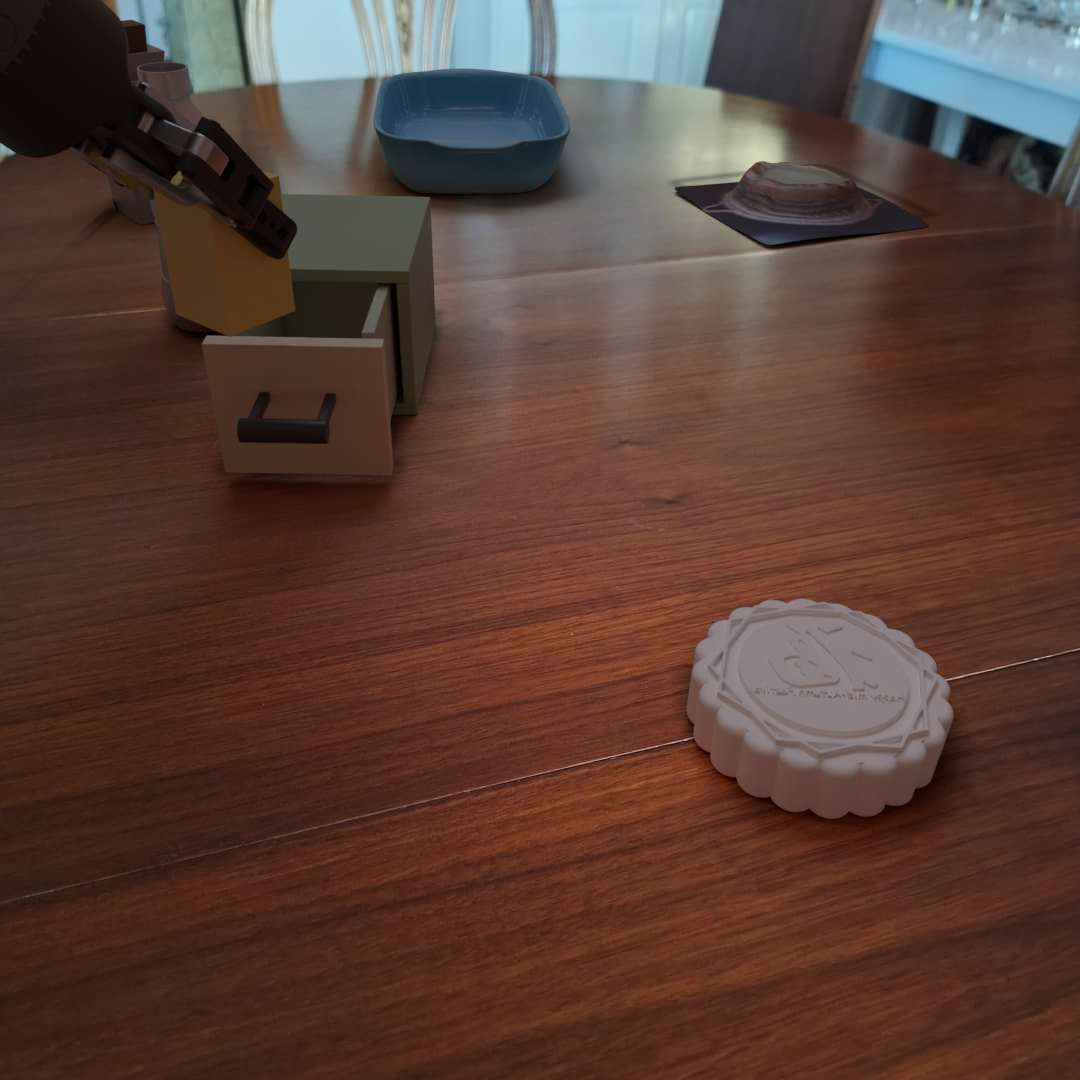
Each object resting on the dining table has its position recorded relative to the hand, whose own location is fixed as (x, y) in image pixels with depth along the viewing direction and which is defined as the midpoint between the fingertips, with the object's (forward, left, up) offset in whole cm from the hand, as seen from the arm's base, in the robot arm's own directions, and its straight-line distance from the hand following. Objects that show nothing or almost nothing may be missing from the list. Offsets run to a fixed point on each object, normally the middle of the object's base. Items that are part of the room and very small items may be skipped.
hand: (252, 231), depth 56 cm
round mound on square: (+44, +59, -17) cm, 76 cm away
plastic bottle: (-12, +25, -17) cm, 33 cm away
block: (-1, -2, -4) cm, 5 cm away
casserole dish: (+7, +75, -17) cm, 77 cm away
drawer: (+1, +5, -16) cm, 17 cm away
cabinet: (+1, +18, -17) cm, 25 cm away
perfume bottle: (-25, +54, -17) cm, 62 cm away
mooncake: (+29, -20, -17) cm, 39 cm away
